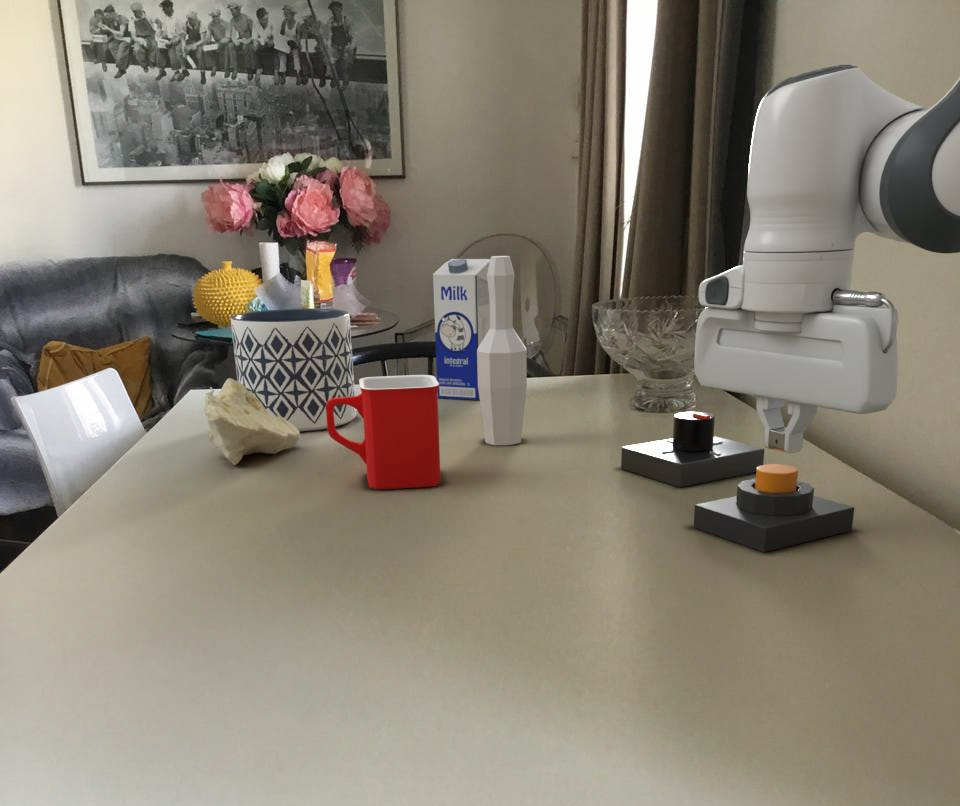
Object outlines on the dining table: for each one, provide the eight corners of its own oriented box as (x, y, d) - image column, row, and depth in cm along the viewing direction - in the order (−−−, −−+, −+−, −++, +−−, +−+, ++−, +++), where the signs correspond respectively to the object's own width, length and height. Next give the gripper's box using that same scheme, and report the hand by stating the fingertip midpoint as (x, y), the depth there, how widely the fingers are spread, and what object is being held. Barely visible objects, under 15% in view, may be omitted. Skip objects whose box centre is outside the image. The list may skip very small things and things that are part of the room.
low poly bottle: (518, 434, 137) (516, 254, 128) (535, 444, 131) (535, 256, 123) (471, 438, 135) (466, 256, 126) (487, 448, 129) (483, 258, 121)
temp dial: (664, 446, 117) (665, 412, 116) (694, 441, 119) (696, 407, 118) (690, 453, 114) (692, 418, 112) (721, 448, 116) (723, 413, 114)
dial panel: (701, 454, 124) (702, 431, 123) (763, 470, 116) (765, 447, 115) (620, 468, 119) (621, 445, 118) (680, 487, 111) (681, 462, 110)
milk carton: (496, 392, 165) (493, 257, 157) (478, 400, 160) (475, 260, 152) (455, 390, 168) (451, 257, 160) (436, 397, 162) (431, 260, 154)
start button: (774, 483, 98) (776, 461, 97) (804, 491, 95) (806, 469, 94) (746, 489, 96) (748, 467, 95) (775, 498, 93) (777, 475, 92)
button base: (778, 508, 103) (782, 468, 101) (852, 530, 96) (857, 487, 94) (693, 527, 98) (695, 485, 96) (764, 552, 91) (768, 507, 89)
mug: (436, 468, 121) (433, 374, 116) (444, 487, 113) (440, 386, 109) (331, 474, 119) (324, 378, 115) (331, 493, 112) (323, 391, 107)
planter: (364, 428, 142) (357, 317, 137) (244, 436, 139) (232, 323, 133) (348, 407, 156) (341, 306, 151) (239, 414, 153) (228, 311, 147)
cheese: (258, 455, 137) (161, 393, 128) (294, 414, 135) (198, 347, 126) (282, 519, 127) (178, 456, 117) (322, 475, 125) (219, 408, 115)
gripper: (926, 290, 82) (904, 465, 87) (737, 279, 98) (728, 428, 103) (871, 296, 79) (852, 477, 84) (685, 284, 95) (679, 437, 100)
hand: (782, 450), depth 94 cm, fingers closed
